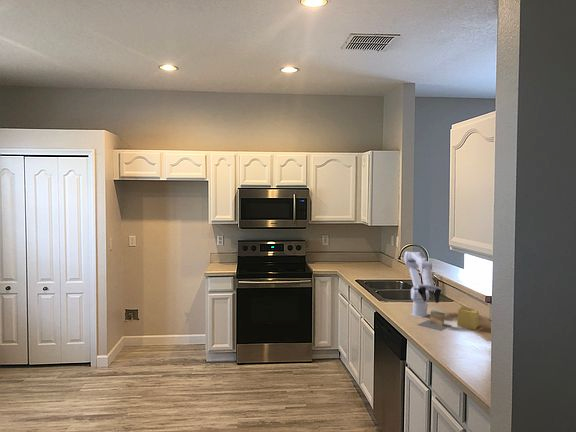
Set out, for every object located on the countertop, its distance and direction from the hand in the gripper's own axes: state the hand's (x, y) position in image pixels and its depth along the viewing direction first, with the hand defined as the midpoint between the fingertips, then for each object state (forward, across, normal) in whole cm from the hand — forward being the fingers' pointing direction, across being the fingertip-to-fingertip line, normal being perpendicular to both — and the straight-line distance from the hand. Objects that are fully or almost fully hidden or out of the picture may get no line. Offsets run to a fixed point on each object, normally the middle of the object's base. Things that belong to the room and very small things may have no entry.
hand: (431, 301), depth 267 cm
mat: (+11, +4, +7) cm, 14 cm away
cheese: (+10, +23, +5) cm, 26 cm away
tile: (+10, +6, +8) cm, 14 cm away
